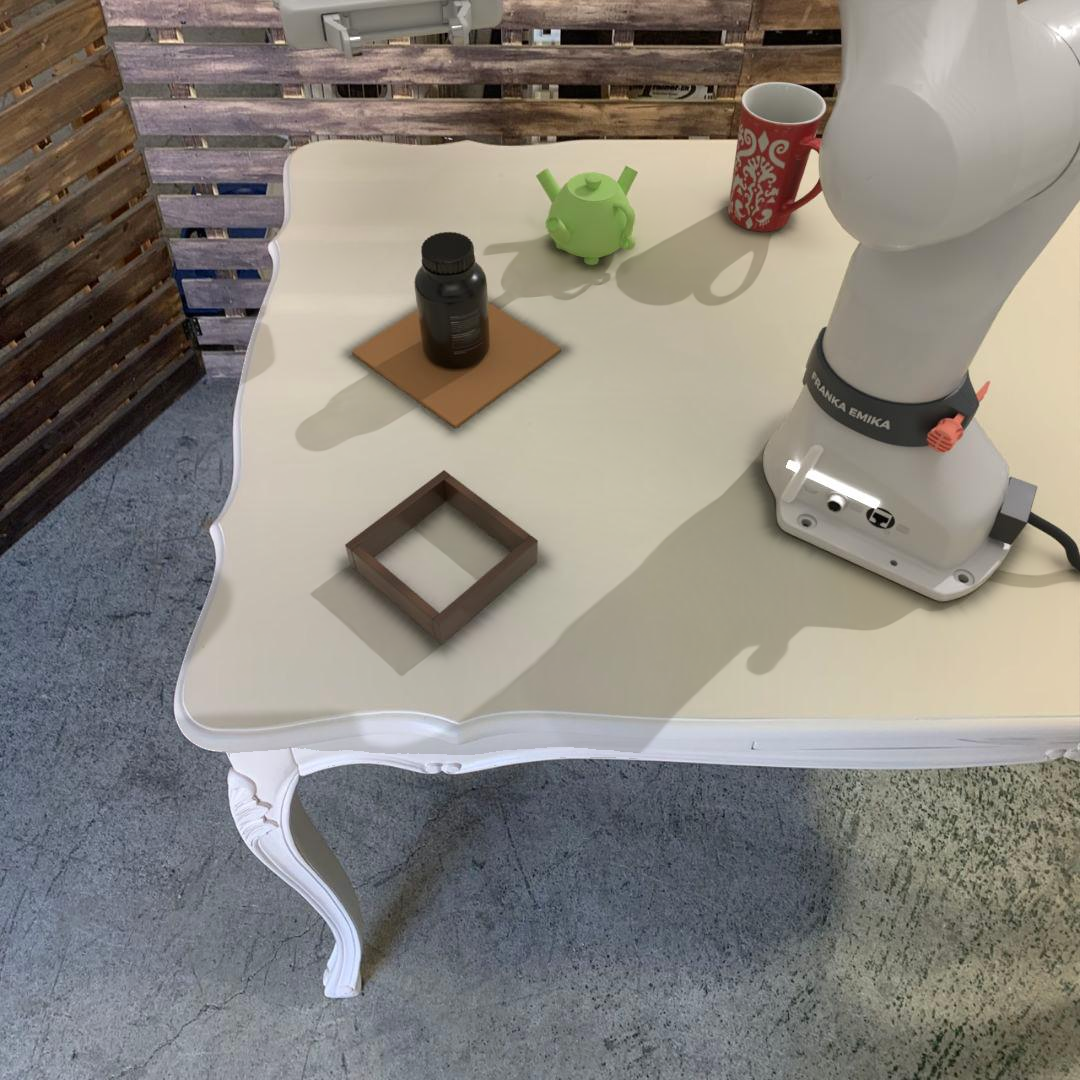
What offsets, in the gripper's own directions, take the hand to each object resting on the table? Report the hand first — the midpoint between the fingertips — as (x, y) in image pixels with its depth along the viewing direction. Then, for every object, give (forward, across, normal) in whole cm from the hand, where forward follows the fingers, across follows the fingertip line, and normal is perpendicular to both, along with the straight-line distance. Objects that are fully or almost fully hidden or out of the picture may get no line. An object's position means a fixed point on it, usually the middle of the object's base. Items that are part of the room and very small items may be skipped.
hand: (408, 43), depth 78 cm
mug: (0, +40, +25) cm, 48 cm away
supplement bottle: (+12, 0, +25) cm, 27 cm away
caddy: (+37, -7, +25) cm, 45 cm away
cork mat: (+12, 0, +25) cm, 28 cm away
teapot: (-2, +18, +25) cm, 31 cm away
